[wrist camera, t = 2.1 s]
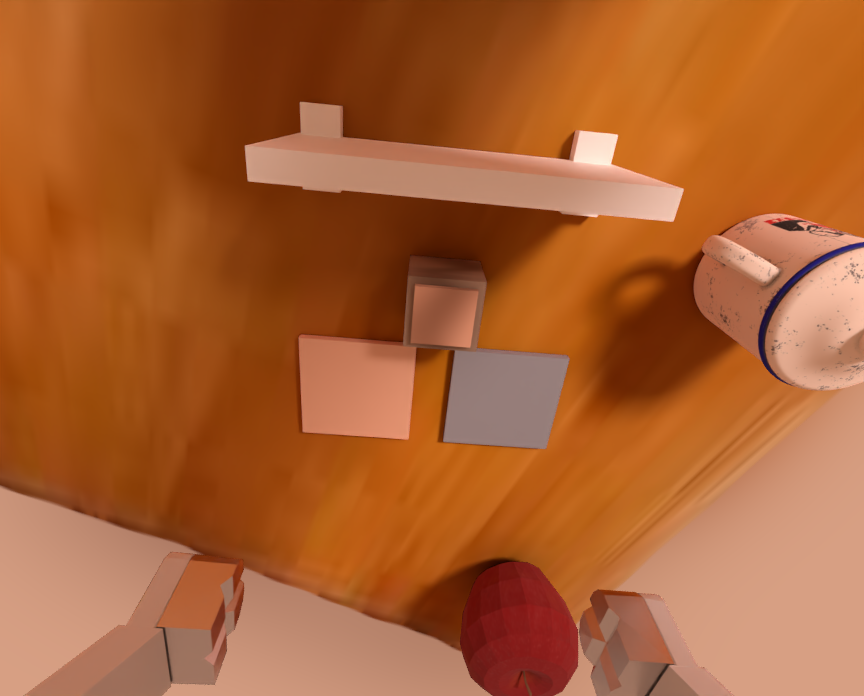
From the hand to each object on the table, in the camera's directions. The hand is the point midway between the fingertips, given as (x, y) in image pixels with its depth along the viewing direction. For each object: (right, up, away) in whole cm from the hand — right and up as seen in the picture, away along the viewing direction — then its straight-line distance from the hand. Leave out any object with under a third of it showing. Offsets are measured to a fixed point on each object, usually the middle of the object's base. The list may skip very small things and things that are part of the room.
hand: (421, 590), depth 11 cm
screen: (+2, +18, +19) cm, 26 cm away
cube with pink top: (+1, +10, +24) cm, 26 cm away
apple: (+8, -18, +39) cm, 43 cm away
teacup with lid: (+22, +12, +23) cm, 34 cm away
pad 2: (+6, +1, +28) cm, 29 cm away
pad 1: (-6, +2, +27) cm, 28 cm away
